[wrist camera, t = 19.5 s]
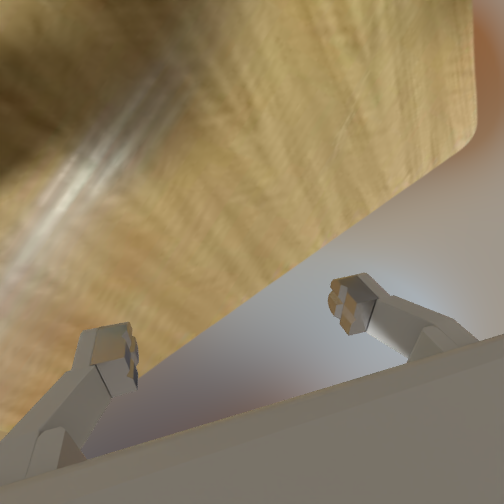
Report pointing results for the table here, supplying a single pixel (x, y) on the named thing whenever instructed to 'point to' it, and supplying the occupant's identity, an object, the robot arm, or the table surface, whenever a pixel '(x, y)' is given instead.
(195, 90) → the table surface
